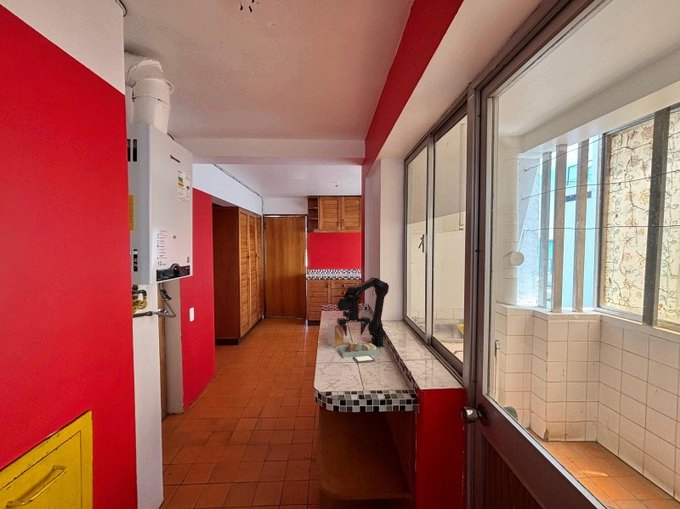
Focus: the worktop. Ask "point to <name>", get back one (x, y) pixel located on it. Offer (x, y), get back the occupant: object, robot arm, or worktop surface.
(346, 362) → the worktop surface
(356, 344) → the walnut block
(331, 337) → the small box
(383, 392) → the worktop surface
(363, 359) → the pad
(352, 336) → the worktop surface
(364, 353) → the parts bin
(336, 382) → the worktop surface
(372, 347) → the maple box
